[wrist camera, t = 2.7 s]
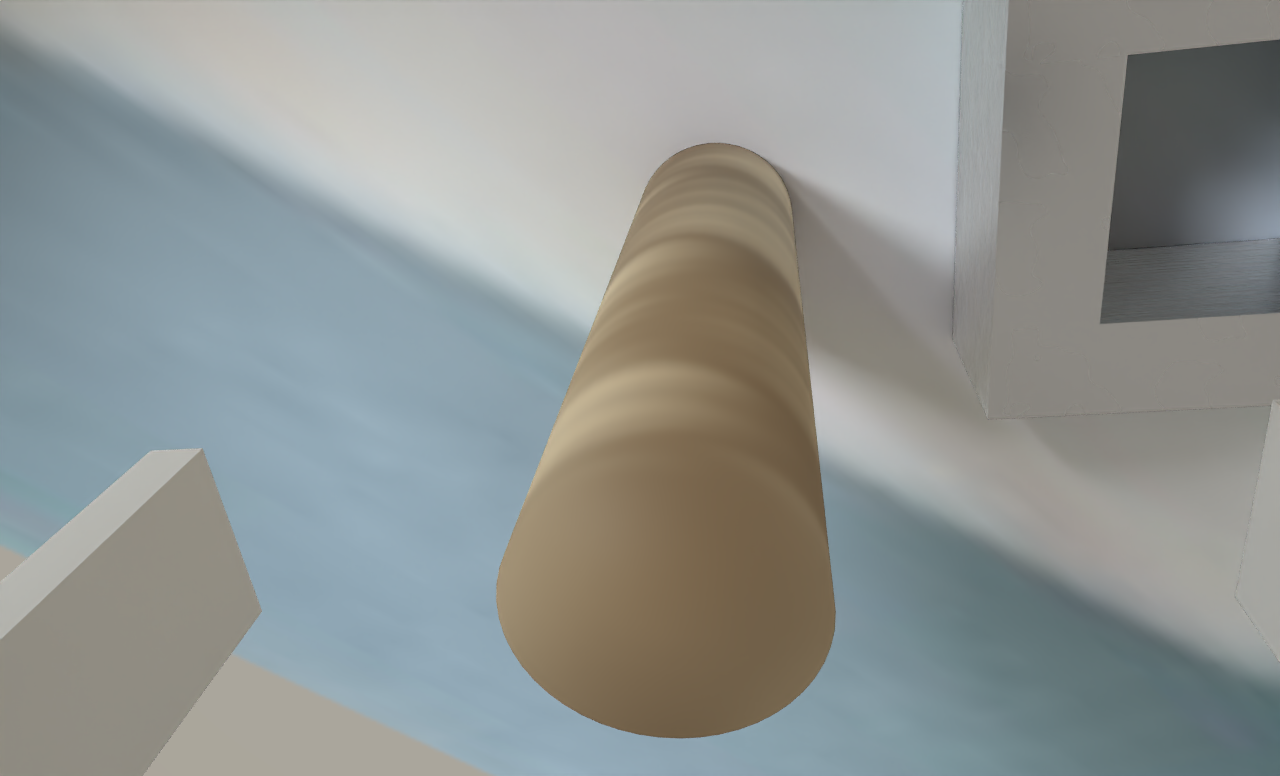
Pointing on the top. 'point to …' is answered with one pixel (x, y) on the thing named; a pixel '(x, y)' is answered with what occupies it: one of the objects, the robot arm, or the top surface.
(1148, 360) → the socket
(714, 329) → the peg
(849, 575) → the top surface
